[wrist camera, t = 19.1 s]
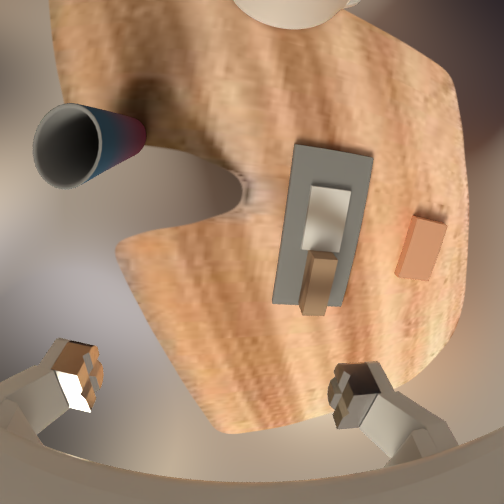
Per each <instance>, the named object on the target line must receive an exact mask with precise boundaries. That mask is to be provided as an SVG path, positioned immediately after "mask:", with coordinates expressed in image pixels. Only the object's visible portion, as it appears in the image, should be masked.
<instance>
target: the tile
mask: <svg viewBox="0 0 504 504" xmlns="http://www.w3.org/2000/svg"><path fill="white" fill-rule="evenodd" d="M446 229H447V225H445V224H444V223H441V222H437V221H433V220H429V219H425V218H421V217H417V216H412V219H411V223H410V226H409V230H408V233H407V236H406V239H405V243H404V246H403V249H402V252H401V255H400V258H399V261H398V264H397V267H396V270H395V275H396V276H397V277H398V278H406V279H415V280H424V281H429V278H430V276H431V273H432V270H433V268H434V265H435V262H436V259H437V256H438V254H439V251H440V248H441V245H442V242H443V239H444V236H445V232H446Z"/></svg>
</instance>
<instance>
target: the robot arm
mask: <svg viewBox="0 0 504 504" xmlns="http://www.w3.org/2000/svg"><path fill="white" fill-rule="evenodd" d="M233 1H234V2H235V3H236V5H237V6H238V7H239V8H240V9H241V10H242V11H243V12H245V13H246V14H247V15H249V16H250V17H252V18H253V19H255V20H257V21H259V22H262V23H264V24H267V25H270V26H273V27H278V28H284V29H305V28H310V27H314V26H317V25H320V24H322V23H324V22H326V21H328V20H329V19H331V18H332V17H333V16H334V15H335V14H336V13H337V12H339V11H340V10H341V9H344V8H348V7H352V6H355V5H357V4H358V3H359V2H360V1H361V0H233ZM98 356H99V351H98V348H97V347H96V346H94V345H90V344H85V343H81V342H76V341H72V340H66V339H63V338H58V339H56V340H55V341H54V343H53V344H52V346H51V347H50V349H49V350H48V352H47V353H46V355H45V356H44V358H43V359H42V361H41V362H40V364H39V365H38V366H36V365H34V366H32V367H30V368H29V369H26V370H24V371H22V372H20V373H18V374H16V375H14V376H12V377H10V378H9V379H6V380H4V381H2V382H0V504H504V426H503V427H501V428H499V429H497V430H495V431H493V432H490V433H488V434H486V435H484V436H481V437H479V438H477V439H474V440H472V441H469V442H467V443H464V444H461V445H458V443H457V441H456V439H455V437H454V436H453V434H452V432H451V430H450V429H449V427H448V425H447V423H446V421H444V420H442V419H441V418H439V417H438V416H436V415H434V414H432V413H431V412H430V411H428V410H427V409H425V408H423V407H422V406H420V405H418V404H417V403H416V402H414V401H412V400H411V399H409V398H408V397H406V396H405V395H403V394H402V393H400V392H395V391H394V389H393V387H392V385H391V383H390V382H389V380H388V378H387V376H386V374H385V372H384V370H383V369H382V367H381V365H380V363H379V362H377V361H372V362H359V363H339V364H337V366H336V367H335V370H334V374H335V377H334V378H333V379H332V380H331V381H330V383H329V386H328V394H327V395H328V401H329V405H330V406H331V407H332V408H333V409H335V411H334V413H333V418H334V421H335V425H336V428H337V429H347V428H358V427H359V429H360V430H361V431H362V432H363V433H364V434H365V435H366V436H367V437H368V438H369V439H371V440H372V441H373V442H374V443H375V444H376V445H377V446H378V447H379V448H380V449H381V450H382V451H383V452H384V453H386V454H387V455H388V456H389V457H390V458H391V459H390V460H389V462H388V463H387V464H386V465H385V466H384V468H381V469H376V470H371V471H366V472H361V473H355V474H349V475H343V476H336V477H328V478H320V479H310V480H299V481H283V482H219V481H204V480H191V479H182V478H174V477H166V476H159V475H153V474H147V473H141V472H136V471H131V470H126V469H121V468H116V467H113V466H108V465H104V464H100V463H97V462H93V461H89V460H86V459H82V458H79V457H76V456H72V455H69V454H66V453H63V452H60V451H57V450H54V449H51V448H49V447H46V446H43V444H42V443H41V441H40V440H39V438H38V437H37V434H38V433H39V432H40V431H41V430H43V429H44V428H45V427H47V426H48V425H49V424H50V423H52V422H53V421H54V420H56V419H57V418H58V417H59V416H61V415H62V414H63V413H64V412H66V411H67V410H68V409H69V407H71V408H74V409H79V410H83V411H87V412H91V410H92V407H93V405H94V403H95V400H96V396H95V392H96V391H98V390H100V388H101V385H102V381H103V367H102V364H101V363H100V362H99V361H98V360H97V359H98Z"/></svg>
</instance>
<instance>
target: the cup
mask: <svg viewBox="0 0 504 504" xmlns="http://www.w3.org/2000/svg"><path fill="white" fill-rule="evenodd" d="M145 141H146V131H145V128H144V126H143V124H142V123H141V122H140V121H139V120H137V119H135V118H133V117H129V116H125V115H121V114H117V113H113V112H109V111H105V110H101V109H97V108H93V107H89V106H84V105H80V104H74V103H67V104H62V105H59V106H57V107H55V108H54V109H52V110H50V112H48V113H47V114H46V115H45V116H44V118H43V119H42V120H41V122H40V124H39V125H38V128H37V130H36V133H35V136H34V141H33V157H34V162H35V166H36V168H37V170H38V172H39V174H40V175H41V177H42V178H43V179H44V180H45V181H46V182H47V183H48V184H50V185H52V186H54V187H55V188H59V189H72V188H76V187H78V186H80V185H82V184H83V183H85V182H87V181H89V180H90V179H92V178H94V177H95V176H97V175H99V174H101V173H102V172H104V171H106V170H108V169H110V168H111V167H113V166H115V165H117V164H119V163H121V162H122V161H124V160H127V159H128V158H130V157H132V156H134V155H136V154H137V153H139V152H140V151H141V149H142V148H143V146H144V144H145Z"/></svg>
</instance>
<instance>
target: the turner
mask: <svg viewBox="0 0 504 504" xmlns="http://www.w3.org/2000/svg"><path fill="white" fill-rule="evenodd" d="M350 195H351V191H349V190H342V189H335V188H328V187H321V186H313V185H311V188H310V194H309V201H308V207H307V214H306V220H305V226H304V232H303V238H302V244H301V249H302V250H308V254H307V259H306V265H305V270H304V275H303V280H302V286H301V291H300V296H299V301H298V304H299V307H300V309H301V312H302V315H305V316H325V312H326V308H327V304H328V300H329V296H330V292H331V288H332V284H333V280H334V276H335V271H336V267H337V263H338V260H337V258H336V257H335V255H334V254H333V253H332V252H339V251H340V246H341V242H342V237H343V232H344V227H345V222H346V217H347V212H348V206H349V201H350Z"/></svg>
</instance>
